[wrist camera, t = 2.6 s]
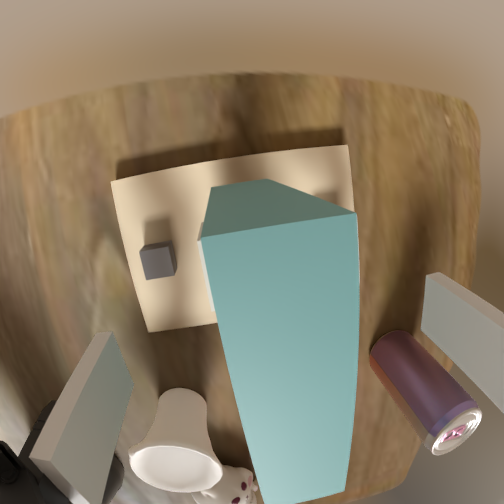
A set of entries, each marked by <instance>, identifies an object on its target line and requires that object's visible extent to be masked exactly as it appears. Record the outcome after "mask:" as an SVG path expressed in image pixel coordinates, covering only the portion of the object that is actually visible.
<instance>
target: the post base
mask: <svg viewBox="0 0 504 504" xmlns="http://www.w3.org/2000/svg"><path fill="white" fill-rule="evenodd" d="M260 179H270V180H273V181H276V182H278V183H281V184H284V185H286V186H289V187H292V188H294V189H297V190H300V191H302V192H305V193H308V194H310V195H313V196H315V197H318V198H320V199H323V200H326V201H328V202H331V203H333V204H336V205H338V206H340V207H343V208H345V209H348V210H350V211H353V212H354V201H353V189H352V178H351V168H350V159H349V150H348V145H338V146H326V147H314V148H304V149H294V150H285V151H277V152H269V153H261V154H254V155H247V156H240V157H233V158H226V159H220V160H214V161H208V162H202V163H197V164H191V165H186V166H180V167H175V168H170V169H165V170H160V171H155V172H151V173H146V174H141V175H137V176H132V177H128V178H124V179H119V180H115V181H111V186H112V192H113V197H114V202H115V207H116V212H117V217H118V221H119V226H120V230H121V235H122V239H123V243H124V247H125V251H126V255H127V259H128V263H129V267H130V271H131V275H132V278H133V282H134V286H135V289H136V293H137V296H138V300H139V303H140V306H141V310H142V313H143V316H144V319H145V323H146V326H147V329H148V332H156V331H164V330H171V329H179V328H186V327H192V326H199V325H206V324H212V323H218V322H217V317H216V312H215V311H213V312H211V307H210V303H209V298H208V293H207V288H206V284H205V279H204V274H203V269H202V264H201V259H200V254H199V249H198V244H197V239H198V234H199V230H200V226H201V222H204V218H205V213H206V209H207V204H208V199H209V195H210V190H211V187H215V186H221V185H227V184H234V183H240V182H247V181H253V180H260Z"/></svg>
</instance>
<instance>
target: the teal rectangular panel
mask: <svg viewBox="0 0 504 504" xmlns="http://www.w3.org/2000/svg"><path fill="white" fill-rule="evenodd" d="M197 244H198V249H199V254H200V259H201V264H202V269H203V274H204V279H205V284H206V288H207V293H208V298H209V303H210V307H211V312H213V311H215V312H216V317H217V322H218V326H219V331H220V335H221V340H222V344H223V348H224V353H225V357H226V361H227V366H228V370H229V374H230V378H231V382H232V386H233V390H234V394H235V398H236V402H237V406H238V410H239V414H240V418H241V422H242V426H243V430H244V433H245V437H246V441H247V445H248V448H249V452H250V455H251V459H252V463H253V466H254V470H255V473H256V477H257V480H258V484H259V487H260V490H261V494H262V497H263V501H264V504H295V503H299V502H304V501H308V500H313V499H317V498H321V497H324V496H328V495H332V494H335V493H339V492H342V491H344V489H345V483H346V477H347V470H348V463H349V456H350V448H351V440H352V431H353V421H354V410H355V399H356V385H357V369H358V346H359V284H360V275H359V243H358V224H357V215H356V213H355V212H353V211H350V210H348V209H345V208H343V207H340V206H338V205H336V204H333V203H331V202H328V201H326V200H323V199H320V198H318V197H315V196H313V195H310V194H308V193H305V192H302V191H300V190H297V189H294V188H292V187H289V186H286V185H284V184H281V183H278V182H276V181H273V180H270V179H260V180H253V181H247V182H240V183H234V184H227V185H221V186H215V187H211V190H210V195H209V199H208V204H207V209H206V213H205V218H204V222H201V226H200V230H199V234H198V239H197Z"/></svg>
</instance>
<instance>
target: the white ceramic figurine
mask: <svg viewBox="0 0 504 504" xmlns="http://www.w3.org/2000/svg"><path fill="white" fill-rule="evenodd" d="M221 465H222V464H221ZM222 470H223V475H222V477H221V479H220V480H219V481H218V482H217V483H216V484H215V485H214V486H213V487H211V488H209V489H206V490H202V491H196V492H191V494H192V496H193V498H194V500H195V501H196V502H197V503H198V504H256V497H255V494H254V492H253V491H252V490H254V491H256V490H257V489H258V487H257V486H256V485H255V484H254V483H253V473H252V472H251V471H250V470H248V469H246V468H242V467H240V468H235V467H232V466H228V465H222Z"/></svg>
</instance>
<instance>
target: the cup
mask: <svg viewBox="0 0 504 504" xmlns="http://www.w3.org/2000/svg"><path fill="white" fill-rule="evenodd" d="M206 414H207V405H206V402H205V400H204V399H203V397H202V396H201V395H199V394H198V393H196V392H195V391H192V390H190V389H185V388H174V389H170V390H168V391H166V392H164V393H163V394H162V395H161V396H160V397H159V403H158V408H157V413H156V416H155V419H154V422H153V425H152V427H151V428H150V430H149V431H148V433H147V435H146V437H145V439H144V440H142V441H141V442H140V443H139V444H136V445H134V446H131V447H130V448H129V451H128V455H129V456H130V461H129V462H130V466H131V468H132V470H133V471H134V472H135V473H136V475H137V476H138V477H139V478H140V479H142V480H143V481H145V482H146V483H148V484H150V485H152V486H154V487H157V488H160V489H163V490H167V491H174V492H196V491H202V490H206V489H209V488H211V487H213V486H214V485H215V484H216V483H217V482H218V481H219V480H220V479H221V477H222V475H223V470H222V465H221V463H220V462H219V460H218V458H217V457H216V455H215V453H214V452H213V449H212V445H211V442H210V438H209V436H208V430H207V422H206Z"/></svg>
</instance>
